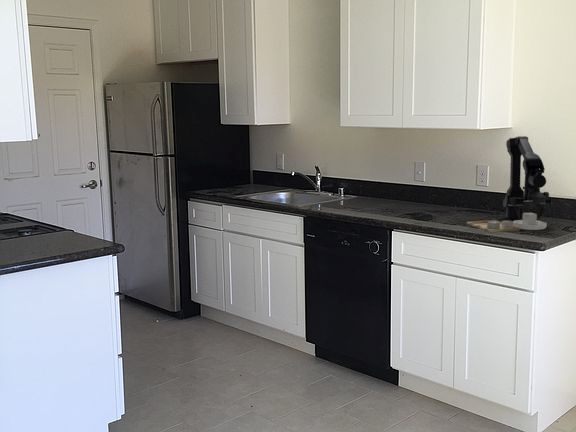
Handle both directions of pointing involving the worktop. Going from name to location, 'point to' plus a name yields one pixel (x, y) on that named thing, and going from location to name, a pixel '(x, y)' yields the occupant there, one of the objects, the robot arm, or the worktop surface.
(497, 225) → the grey piece
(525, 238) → the worktop surface
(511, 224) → the grey cubic piece
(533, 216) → the grey rectangular block
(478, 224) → the tray
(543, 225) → the bowl
